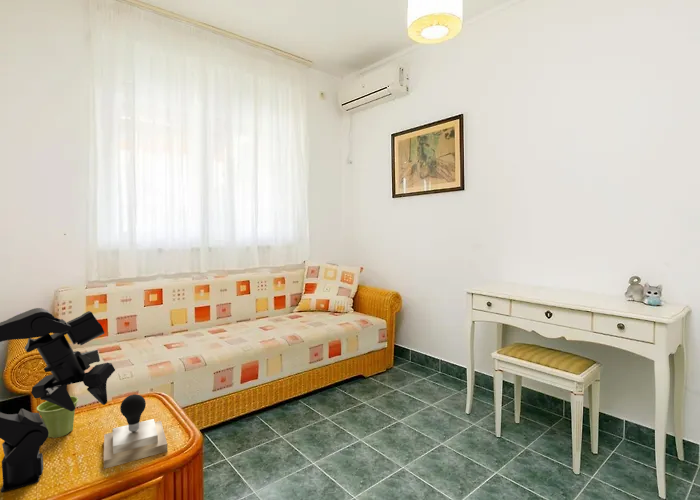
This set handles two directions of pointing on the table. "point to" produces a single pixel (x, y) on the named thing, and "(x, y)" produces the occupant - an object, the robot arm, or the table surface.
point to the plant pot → (57, 418)
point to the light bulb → (133, 410)
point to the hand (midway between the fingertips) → (89, 406)
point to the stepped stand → (134, 443)
